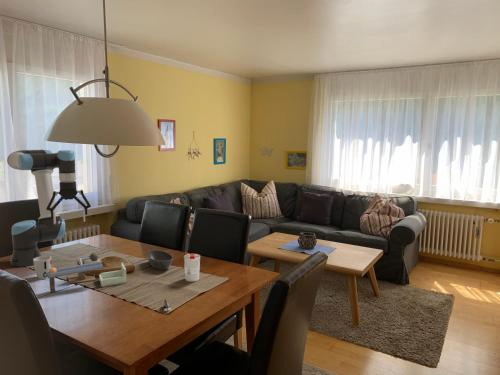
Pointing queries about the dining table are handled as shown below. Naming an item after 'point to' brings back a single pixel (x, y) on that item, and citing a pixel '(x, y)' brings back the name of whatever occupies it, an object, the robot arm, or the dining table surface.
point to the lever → (78, 267)
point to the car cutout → (166, 305)
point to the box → (113, 277)
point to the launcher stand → (73, 279)
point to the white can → (192, 267)
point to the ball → (52, 270)
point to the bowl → (159, 259)
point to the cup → (42, 266)
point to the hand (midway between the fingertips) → (69, 222)
